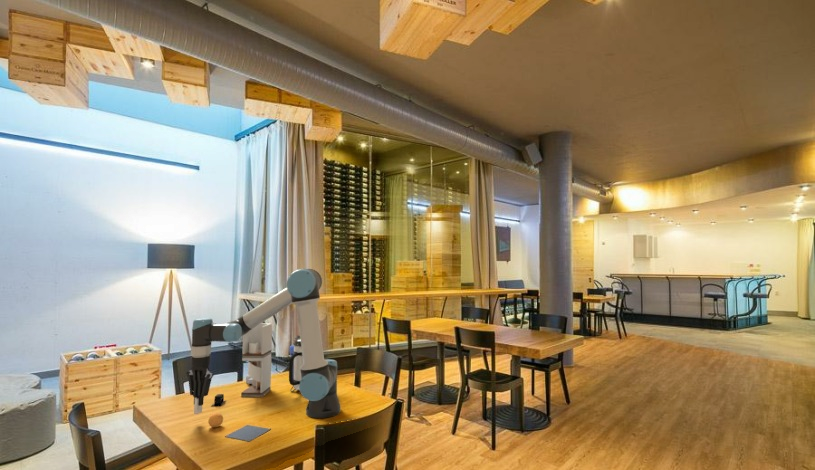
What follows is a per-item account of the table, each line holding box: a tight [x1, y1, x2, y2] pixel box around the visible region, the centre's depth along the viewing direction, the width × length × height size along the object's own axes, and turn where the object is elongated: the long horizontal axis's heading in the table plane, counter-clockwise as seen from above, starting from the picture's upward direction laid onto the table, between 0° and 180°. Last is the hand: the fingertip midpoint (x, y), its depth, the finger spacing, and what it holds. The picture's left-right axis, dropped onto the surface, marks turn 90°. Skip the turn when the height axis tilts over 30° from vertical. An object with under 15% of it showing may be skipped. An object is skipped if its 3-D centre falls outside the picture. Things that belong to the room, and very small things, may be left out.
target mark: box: [224, 424, 271, 442], centre depth 157 cm, size 12×12×1 cm
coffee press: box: [288, 338, 303, 393], centre depth 212 cm, size 17×16×30 cm
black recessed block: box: [210, 393, 227, 408], centre depth 192 cm, size 12×7×5 cm, turn 6°
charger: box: [245, 374, 253, 385], centre depth 227 cm, size 5×9×15 cm
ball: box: [208, 412, 224, 428], centre depth 164 cm, size 6×6×6 cm
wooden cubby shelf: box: [240, 322, 273, 398], centre depth 209 cm, size 11×11×35 cm
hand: (198, 413), depth 167 cm, fingers closed
